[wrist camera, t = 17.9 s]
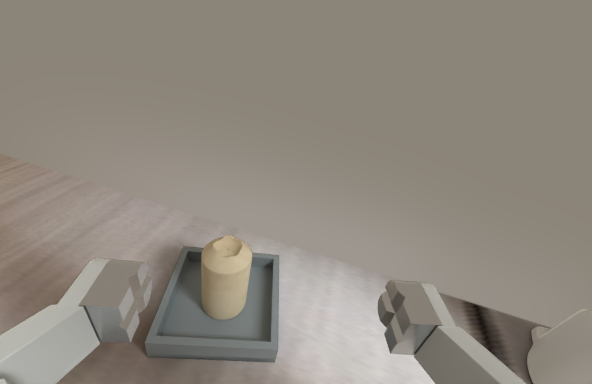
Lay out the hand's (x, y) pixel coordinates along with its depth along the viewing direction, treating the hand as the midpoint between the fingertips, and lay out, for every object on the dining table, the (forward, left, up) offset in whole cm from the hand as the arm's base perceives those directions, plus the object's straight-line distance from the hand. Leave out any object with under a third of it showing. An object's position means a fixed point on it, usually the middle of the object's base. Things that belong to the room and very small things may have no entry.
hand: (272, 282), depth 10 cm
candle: (+3, -16, -25) cm, 30 cm away
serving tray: (+3, -16, -25) cm, 30 cm away
